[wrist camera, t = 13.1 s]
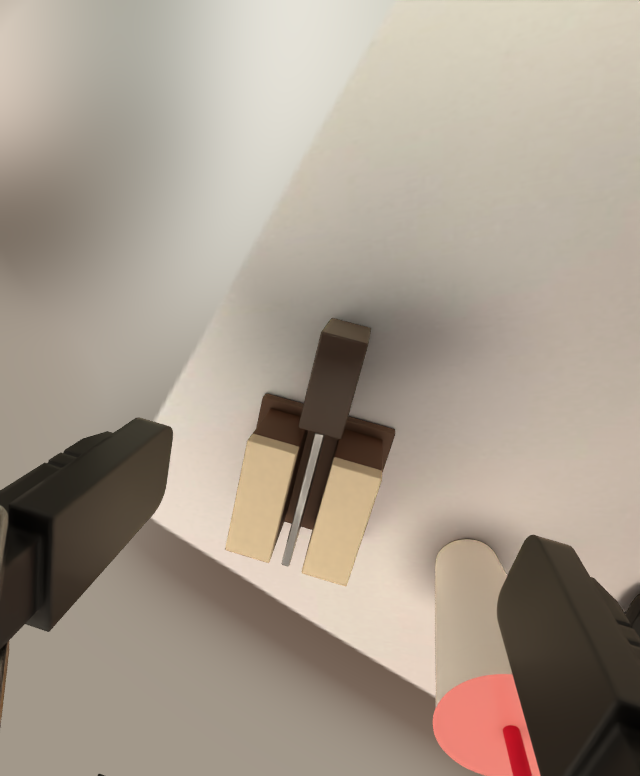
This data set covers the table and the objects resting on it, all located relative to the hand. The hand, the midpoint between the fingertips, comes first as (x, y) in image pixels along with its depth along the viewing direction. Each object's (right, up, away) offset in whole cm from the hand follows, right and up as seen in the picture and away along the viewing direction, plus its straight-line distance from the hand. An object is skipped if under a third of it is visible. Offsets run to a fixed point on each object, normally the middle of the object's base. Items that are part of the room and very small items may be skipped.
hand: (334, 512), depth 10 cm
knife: (0, +1, +14) cm, 14 cm away
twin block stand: (-1, -2, +14) cm, 14 cm away
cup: (+8, -7, +15) cm, 18 cm away
